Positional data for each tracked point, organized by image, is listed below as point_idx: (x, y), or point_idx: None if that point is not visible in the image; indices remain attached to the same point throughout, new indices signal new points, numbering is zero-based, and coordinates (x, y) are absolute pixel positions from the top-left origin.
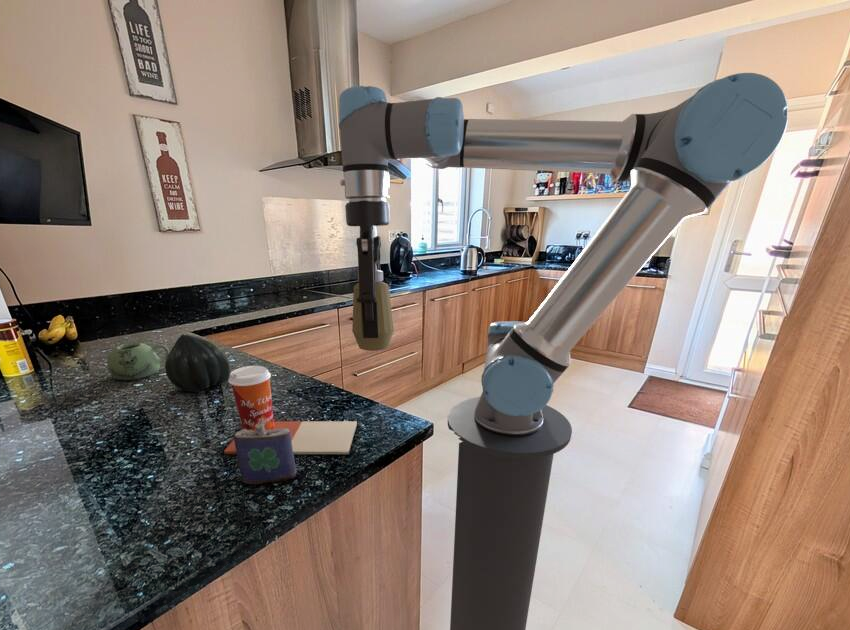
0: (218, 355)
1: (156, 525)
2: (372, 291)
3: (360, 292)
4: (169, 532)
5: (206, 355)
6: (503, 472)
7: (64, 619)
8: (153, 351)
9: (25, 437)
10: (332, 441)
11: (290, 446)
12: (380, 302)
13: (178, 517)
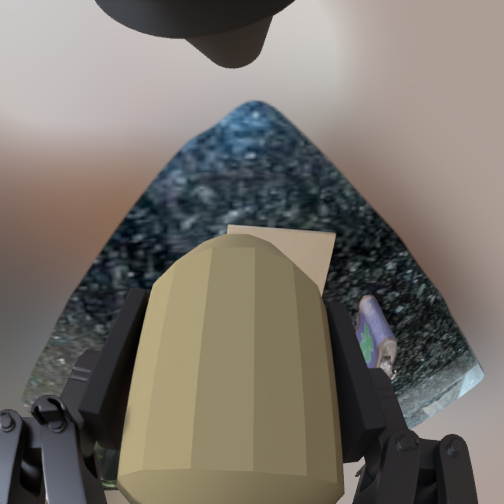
0: None
1: (400, 374)
2: (468, 470)
3: (437, 490)
4: (412, 363)
5: (119, 452)
6: None
7: (456, 372)
8: None
9: None
10: (299, 261)
11: (387, 324)
12: (334, 411)
13: (397, 366)
